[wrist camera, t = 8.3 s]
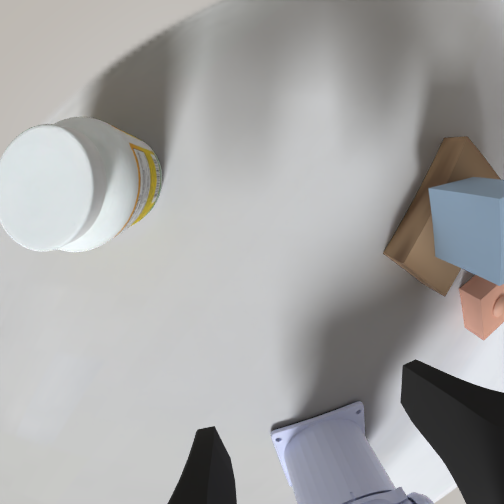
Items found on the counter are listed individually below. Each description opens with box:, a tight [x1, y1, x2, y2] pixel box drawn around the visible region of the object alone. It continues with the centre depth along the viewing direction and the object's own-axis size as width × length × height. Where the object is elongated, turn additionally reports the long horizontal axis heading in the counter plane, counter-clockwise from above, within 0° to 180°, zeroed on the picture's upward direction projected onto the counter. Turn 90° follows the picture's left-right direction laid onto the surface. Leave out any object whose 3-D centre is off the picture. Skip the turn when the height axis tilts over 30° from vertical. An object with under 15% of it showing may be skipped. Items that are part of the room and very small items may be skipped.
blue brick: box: [428, 177, 504, 286], centre depth 15 cm, size 4×4×6 cm
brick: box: [459, 275, 504, 340], centre depth 22 cm, size 4×4×3 cm
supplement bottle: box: [0, 117, 162, 252], centre depth 13 cm, size 5×5×10 cm
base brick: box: [383, 136, 501, 296], centre depth 19 cm, size 10×5×3 cm, turn 148°
